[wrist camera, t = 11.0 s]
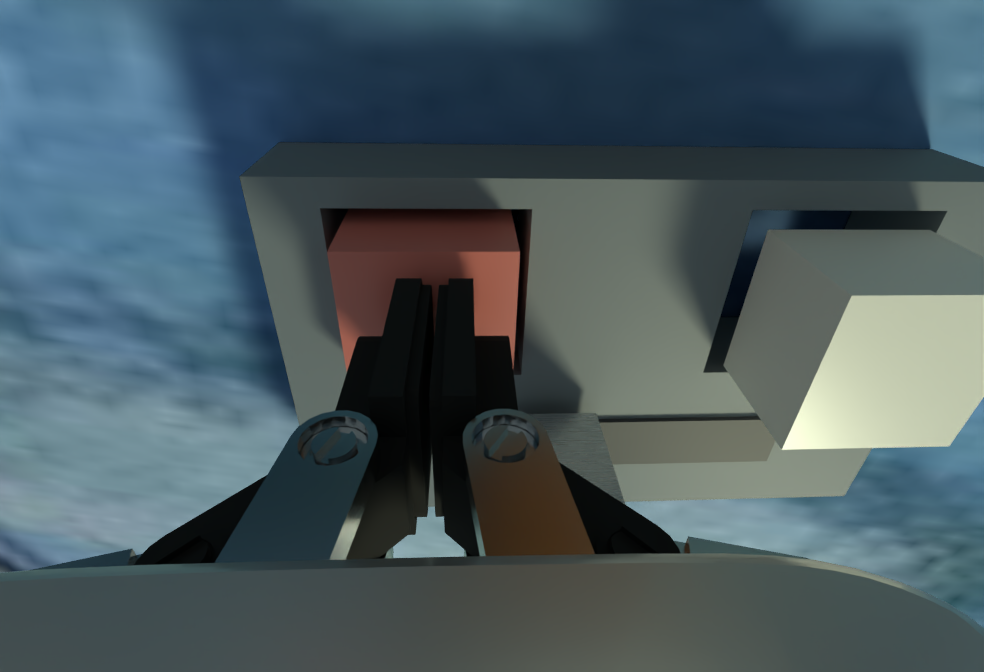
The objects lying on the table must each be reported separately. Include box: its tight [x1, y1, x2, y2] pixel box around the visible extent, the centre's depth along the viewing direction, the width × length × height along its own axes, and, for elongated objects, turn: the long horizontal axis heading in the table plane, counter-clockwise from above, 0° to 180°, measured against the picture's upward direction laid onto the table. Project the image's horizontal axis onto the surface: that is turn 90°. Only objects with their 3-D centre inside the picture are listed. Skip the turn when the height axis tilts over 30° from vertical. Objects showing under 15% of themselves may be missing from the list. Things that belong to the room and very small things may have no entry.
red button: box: [327, 208, 520, 372], centre depth 13 cm, size 4×4×3 cm
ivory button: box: [723, 230, 984, 450], centre depth 12 cm, size 4×4×3 cm
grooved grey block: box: [529, 413, 625, 504], centre depth 14 cm, size 3×2×4 cm
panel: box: [239, 142, 984, 507], centre depth 16 cm, size 11×18×3 cm, turn 89°
